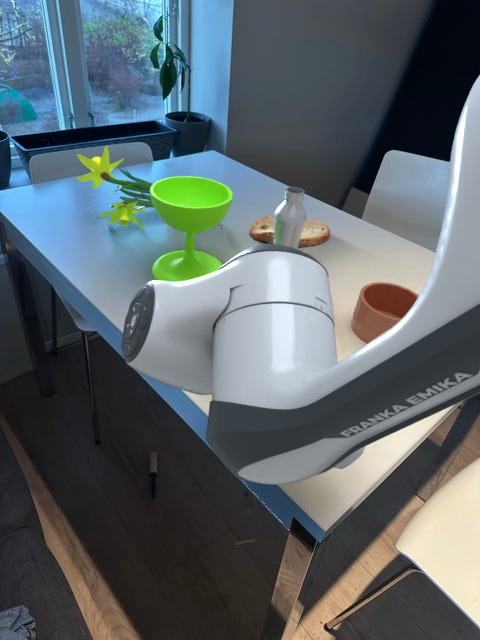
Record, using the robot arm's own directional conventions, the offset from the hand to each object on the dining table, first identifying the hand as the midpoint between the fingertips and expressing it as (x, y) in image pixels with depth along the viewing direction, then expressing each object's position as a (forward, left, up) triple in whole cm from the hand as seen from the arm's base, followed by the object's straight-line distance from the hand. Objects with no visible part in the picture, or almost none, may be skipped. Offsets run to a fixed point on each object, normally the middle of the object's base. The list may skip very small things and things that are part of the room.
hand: (339, 397), depth 56 cm
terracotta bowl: (+4, -34, -12) cm, 36 cm away
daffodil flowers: (+69, -37, -12) cm, 79 cm away
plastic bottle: (+29, -36, -12) cm, 47 cm away
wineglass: (+45, -24, -12) cm, 52 cm away
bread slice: (+38, -56, -12) cm, 68 cm away
